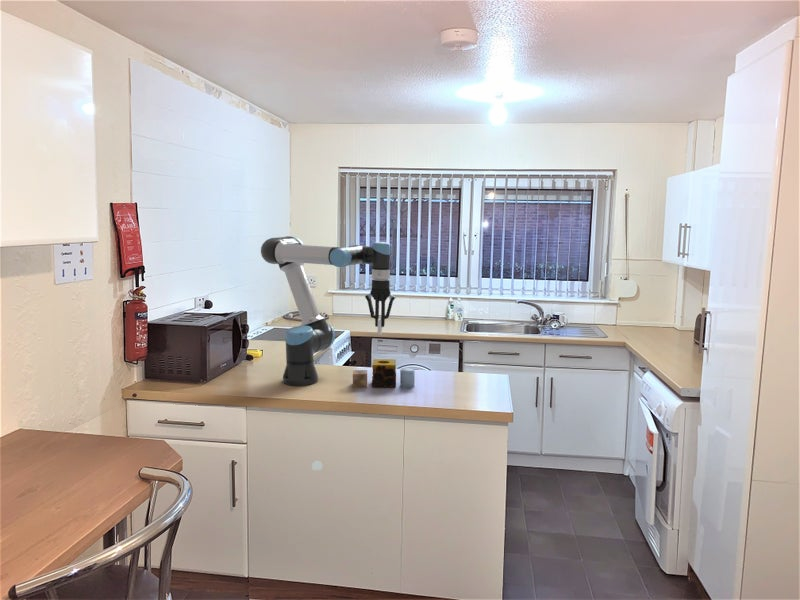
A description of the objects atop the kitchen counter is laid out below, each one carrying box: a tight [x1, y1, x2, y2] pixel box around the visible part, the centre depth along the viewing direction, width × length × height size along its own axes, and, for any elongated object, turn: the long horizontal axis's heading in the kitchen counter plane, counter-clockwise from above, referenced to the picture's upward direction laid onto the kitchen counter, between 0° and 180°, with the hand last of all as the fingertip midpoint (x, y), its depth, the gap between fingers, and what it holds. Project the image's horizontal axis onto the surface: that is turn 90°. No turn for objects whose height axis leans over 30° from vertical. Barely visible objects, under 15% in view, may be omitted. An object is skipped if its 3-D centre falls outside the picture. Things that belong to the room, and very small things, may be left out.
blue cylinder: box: [399, 367, 416, 389], centre depth 253 cm, size 6×6×7 cm
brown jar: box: [352, 369, 368, 389], centre depth 253 cm, size 6×6×6 cm
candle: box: [371, 358, 397, 389], centre depth 255 cm, size 10×10×10 cm
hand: (379, 334), depth 254 cm, fingers closed
